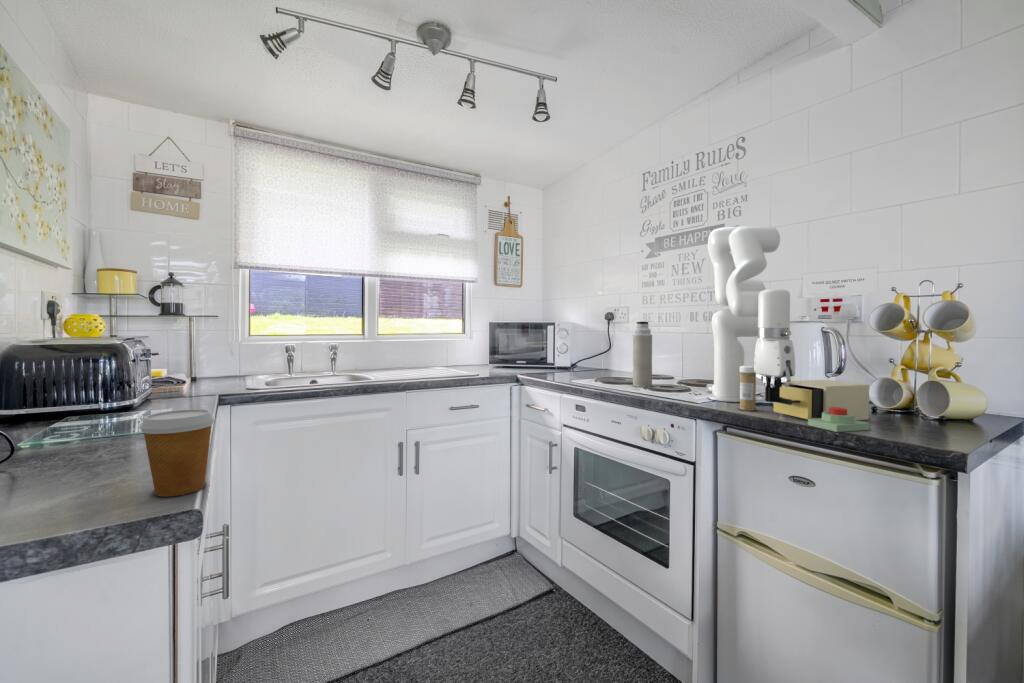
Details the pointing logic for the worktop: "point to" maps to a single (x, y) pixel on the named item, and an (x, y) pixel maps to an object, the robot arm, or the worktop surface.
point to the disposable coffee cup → (178, 449)
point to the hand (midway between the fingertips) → (772, 401)
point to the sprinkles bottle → (747, 388)
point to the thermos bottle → (642, 356)
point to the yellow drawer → (800, 401)
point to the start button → (837, 411)
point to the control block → (838, 422)
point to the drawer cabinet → (841, 396)
